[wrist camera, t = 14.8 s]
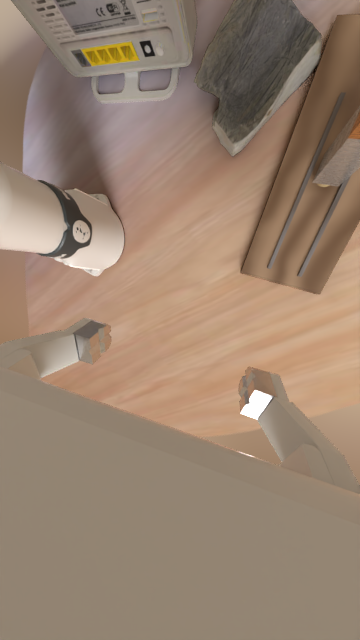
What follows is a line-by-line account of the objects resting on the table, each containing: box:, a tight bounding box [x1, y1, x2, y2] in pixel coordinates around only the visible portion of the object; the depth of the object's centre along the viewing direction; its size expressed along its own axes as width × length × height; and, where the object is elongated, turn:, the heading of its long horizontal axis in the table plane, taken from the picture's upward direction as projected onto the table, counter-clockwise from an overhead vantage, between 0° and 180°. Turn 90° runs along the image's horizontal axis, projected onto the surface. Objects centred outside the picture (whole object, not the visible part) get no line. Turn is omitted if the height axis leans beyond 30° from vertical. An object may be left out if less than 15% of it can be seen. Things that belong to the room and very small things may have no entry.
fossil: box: [194, 0, 322, 157], centre depth 26 cm, size 15×16×4 cm
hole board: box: [241, 14, 360, 294], centre depth 26 cm, size 14×34×3 cm, turn 165°
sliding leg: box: [312, 106, 360, 186], centre depth 19 cm, size 4×4×13 cm
